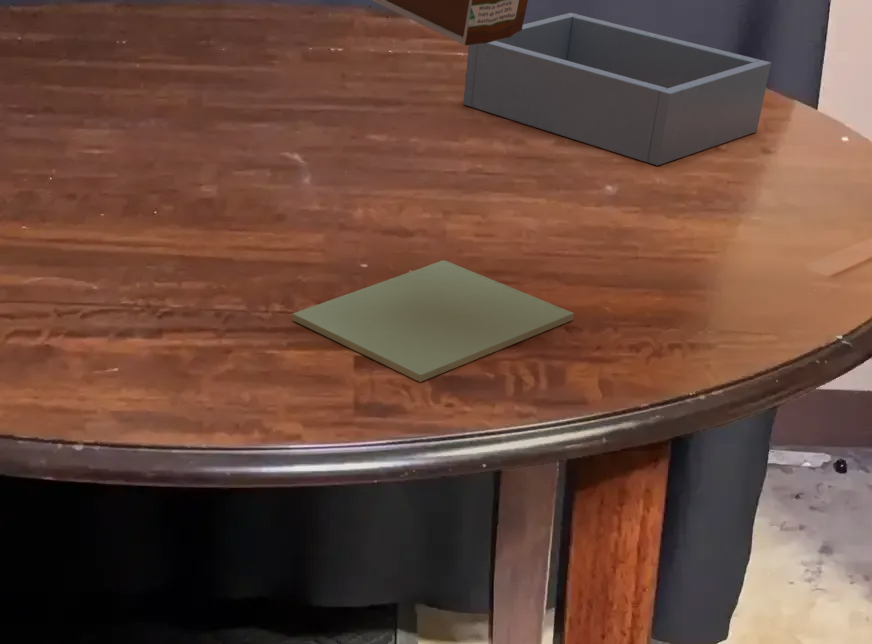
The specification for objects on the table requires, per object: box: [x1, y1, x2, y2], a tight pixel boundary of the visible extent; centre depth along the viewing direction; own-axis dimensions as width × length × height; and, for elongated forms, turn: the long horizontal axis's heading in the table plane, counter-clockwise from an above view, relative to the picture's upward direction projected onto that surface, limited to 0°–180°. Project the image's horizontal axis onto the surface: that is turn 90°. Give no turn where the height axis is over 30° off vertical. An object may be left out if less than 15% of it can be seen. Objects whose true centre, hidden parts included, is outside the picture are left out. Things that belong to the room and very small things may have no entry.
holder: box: [462, 12, 772, 167], centre depth 102 cm, size 17×11×4 cm, turn 39°
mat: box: [292, 259, 575, 383], centre depth 76 cm, size 9×11×1 cm
